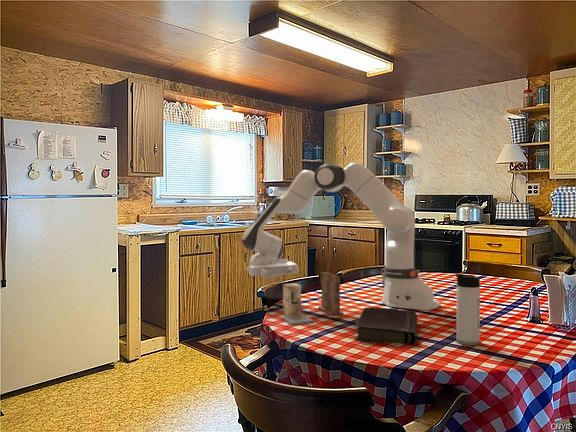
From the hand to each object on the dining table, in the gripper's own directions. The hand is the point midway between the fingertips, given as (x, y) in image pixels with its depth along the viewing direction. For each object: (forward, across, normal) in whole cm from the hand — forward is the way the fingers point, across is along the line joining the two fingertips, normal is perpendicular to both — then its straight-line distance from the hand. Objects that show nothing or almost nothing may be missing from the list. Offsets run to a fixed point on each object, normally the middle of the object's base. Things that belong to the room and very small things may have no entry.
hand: (279, 272), depth 178 cm
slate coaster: (+22, -1, +14) cm, 25 cm away
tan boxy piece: (+12, 0, +14) cm, 18 cm away
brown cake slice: (-9, +60, +13) cm, 62 cm away
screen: (+14, +15, +13) cm, 25 cm away
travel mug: (+63, +35, +13) cm, 73 cm away
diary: (+44, +20, +14) cm, 50 cm away
